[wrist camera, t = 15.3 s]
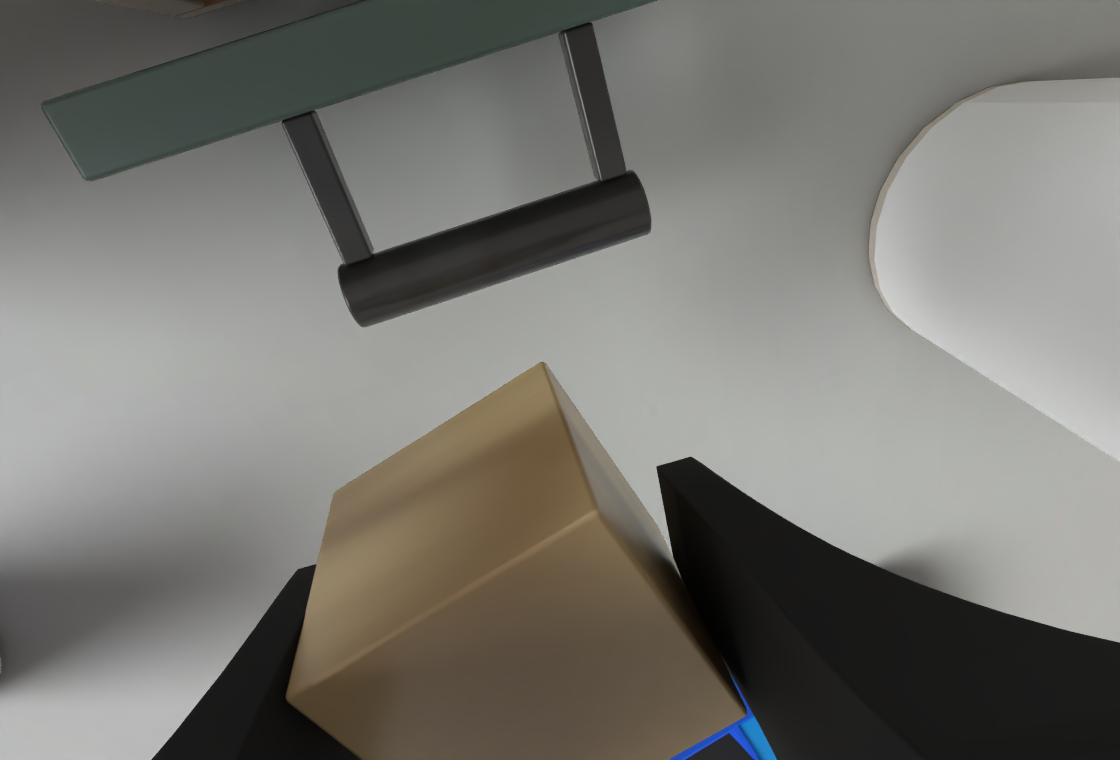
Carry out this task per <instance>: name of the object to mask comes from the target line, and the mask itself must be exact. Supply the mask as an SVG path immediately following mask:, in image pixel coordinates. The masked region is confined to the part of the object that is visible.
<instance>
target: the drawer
mask: <svg viewBox="0 0 1120 760" xmlns="http://www.w3.org/2000/svg"><path fill="white" fill-rule="evenodd" d="M94 1H99V2H104V3H109V4H114V5H119V6H124V7H129V8H134V9H139V10H144V11H149V12H154V13H159V14H164V15H169V16H173V17H178V18H183V19H187V18H191V17H194V16H197V15H200V14H203V13H207V12H210V11H213V10H216V9H219V8H223V7H226V6H229V5H232V4H235V3H238V2H242V1H245V0H94ZM654 1H657V0H362V1H359V2H356V3H353V4H350V5H347V6H343V7H340V8H337V9H334V10H331V11H328V12H324V13H321V14H318V15H315V16H312V17H309V18H305V19H302V20H299V21H296V22H293V23H290V24H286V25H283V26H280V27H277V28H274V29H271V30H267V31H264V32H261V33H258V34H255V35H252V36H248V37H245V38H242V39H239V40H236V41H233V42H229V43H226V44H223V45H220V46H217V47H214V48H210V49H207V50H204V51H201V52H198V53H195V54H191V55H188V56H185V57H182V58H179V59H176V60H172V61H169V62H166V63H163V64H160V65H157V66H153V67H150V68H147V69H144V70H141V71H138V72H134V73H131V74H128V75H125V76H122V77H119V78H115V79H112V80H109V81H106V82H103V83H100V84H96V85H93V86H90V87H87V88H84V89H81V90H77V91H74V92H71V93H68V94H65V95H62V96H58V97H55V98H52V99H49V100H46V101H44V102H43V103H42V104H41V108H42V110H43V112H44V114H45V115H46V117H47V119H48V120H49V122H50V124H51V125H52V127H53V129H54V130H55V132H56V134H57V135H58V137H59V139H60V141H61V142H62V144H63V146H64V147H65V149H66V151H67V152H68V154H69V156H70V157H71V159H72V161H73V162H74V164H75V166H76V167H77V169H78V171H79V173H80V174H81V176H82V178H83V179H85V180H86V181H94V180H97V179H101V178H104V177H107V176H110V175H113V174H116V173H119V172H122V171H126V170H129V169H132V168H135V167H138V166H141V165H144V164H147V163H151V162H154V161H157V160H160V159H163V158H166V157H169V156H172V155H176V154H179V153H182V152H185V151H188V150H191V149H194V148H197V147H201V146H204V145H207V144H210V143H213V142H216V141H219V140H223V139H226V138H229V137H232V136H235V135H238V134H241V133H244V132H248V131H251V130H254V129H257V128H260V127H263V126H266V125H269V124H273V123H276V122H279V121H282V120H283V121H282V126H283V128H284V131H285V133H286V135H287V137H288V140H289V142H290V144H291V146H292V149H293V151H294V153H295V155H296V158H297V160H298V162H299V164H300V167H301V169H302V171H303V173H304V176H305V178H306V180H307V182H308V185H309V187H310V189H311V191H312V194H313V196H314V198H315V200H316V202H317V205H318V207H319V209H320V211H321V214H322V216H323V218H324V220H325V223H326V225H327V227H328V229H329V232H330V234H331V236H332V238H333V241H334V243H335V245H336V247H337V250H338V252H339V254H340V256H341V259H342V261H343V264H341V265H340V266H339V267H338V279H339V284H340V288H341V291H342V294H343V297H344V300H345V302H346V304H347V307H348V309H349V311H350V313H351V314H352V316H353V318H354V319H355V321H356V322H357V323H358V324H359V325H360V326H361V327H368V326H371V325H374V324H377V323H380V322H383V321H386V320H389V319H393V318H396V317H399V316H402V315H405V314H408V313H411V312H414V311H417V310H420V309H423V308H426V307H429V306H432V305H435V304H438V303H441V302H444V301H447V300H450V299H453V298H456V297H459V296H462V295H465V294H468V293H471V292H474V291H477V290H480V289H483V288H487V287H490V286H493V285H496V284H499V283H502V282H505V281H508V280H511V279H514V278H517V277H520V276H523V275H526V274H529V273H532V272H535V271H538V270H541V269H544V268H547V267H550V266H553V265H556V264H559V263H562V262H565V261H568V260H571V259H574V258H577V257H581V256H584V255H587V254H590V253H593V252H596V251H599V250H602V249H605V248H608V247H611V246H614V245H617V244H620V243H623V242H626V241H629V240H632V239H635V238H638V237H641V236H644V235H647V234H649V233H650V231H651V214H650V209H649V204H648V200H647V197H646V194H645V191H644V188H643V186H642V183H641V181H640V179H639V178H638V176H637V175H636V173H635V172H634V171H632V170H628V171H626V166H625V162H624V158H623V153H622V149H621V145H620V140H619V136H618V132H617V127H616V123H615V119H614V114H613V110H612V106H611V101H610V97H609V93H608V89H607V84H606V80H605V76H604V71H603V67H602V63H601V58H600V54H599V50H598V45H597V41H596V37H595V32H594V28H593V25H592V23H590V22H592V21H595V20H598V19H601V18H604V17H607V16H610V15H613V14H617V13H620V12H623V11H626V10H629V9H632V8H635V7H638V6H642V5H645V4H648V3H651V2H654ZM560 31H561V32H560ZM557 32H559V39H560V43H561V47H562V51H563V55H564V59H565V63H566V67H567V70H568V74H569V78H570V82H571V86H572V90H573V94H574V98H575V102H576V106H577V110H578V114H579V118H580V122H581V126H582V130H583V134H584V137H585V141H586V145H587V149H588V153H589V157H590V161H591V165H592V169H593V173H594V176H595V178H596V179H598V180H597V181H594V182H591V183H588V184H585V185H582V186H579V187H576V188H573V189H570V190H567V191H564V192H561V193H558V194H555V195H552V196H548V197H545V198H542V199H539V200H536V201H533V202H530V203H527V204H524V205H521V206H518V207H515V208H512V209H509V210H506V211H503V212H500V213H496V214H493V215H490V216H487V217H484V218H481V219H478V220H475V221H472V222H469V223H466V224H463V225H460V226H457V227H454V228H451V229H447V230H444V231H441V232H438V233H435V234H432V235H429V236H426V237H423V238H420V239H417V240H414V241H411V242H408V243H405V244H402V245H399V246H395V247H392V248H389V249H386V250H383V251H380V252H377V253H374V254H373V251H374V248H373V246H372V244H371V241H370V239H369V236H368V234H367V232H366V229H365V227H364V225H363V222H362V220H361V217H360V215H359V213H358V210H357V208H356V205H355V203H354V201H353V198H352V196H351V194H350V191H349V189H348V186H347V184H346V182H345V179H344V177H343V175H342V172H341V170H340V167H339V165H338V163H337V160H336V158H335V155H334V153H333V151H332V148H331V146H330V144H329V141H328V139H327V136H326V134H325V132H324V129H323V127H322V125H321V122H320V120H319V117H318V115H317V113H316V112H315V111H313V110H316V109H319V108H323V107H326V106H329V105H332V104H335V103H338V102H341V101H344V100H348V99H351V98H354V97H357V96H360V95H363V94H366V93H369V92H373V91H376V90H379V89H382V88H385V87H388V86H391V85H395V84H398V83H401V82H404V81H407V80H410V79H413V78H416V77H420V76H423V75H426V74H429V73H432V72H435V71H438V70H441V69H445V68H448V67H451V66H454V65H457V64H460V63H463V62H466V61H470V60H473V59H476V58H479V57H482V56H485V55H488V54H491V53H495V52H498V51H501V50H504V49H507V48H510V47H513V46H516V45H520V44H523V43H526V42H529V41H532V40H535V39H538V38H541V37H545V36H548V35H551V34H554V33H557Z"/></svg>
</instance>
